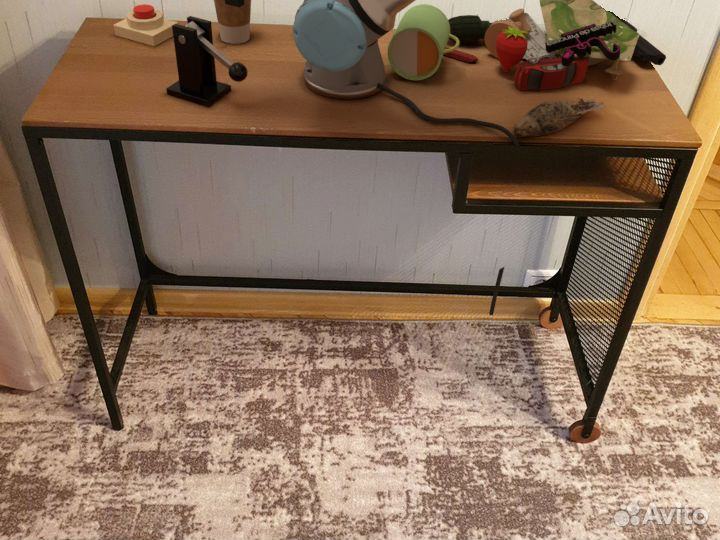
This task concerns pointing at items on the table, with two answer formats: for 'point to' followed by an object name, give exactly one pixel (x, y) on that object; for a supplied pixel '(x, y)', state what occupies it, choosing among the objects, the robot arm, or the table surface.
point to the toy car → (549, 73)
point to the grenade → (468, 28)
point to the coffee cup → (233, 21)
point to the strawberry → (511, 47)
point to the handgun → (645, 48)
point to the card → (576, 10)
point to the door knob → (503, 24)
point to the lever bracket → (195, 66)
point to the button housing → (145, 28)
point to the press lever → (220, 56)
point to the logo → (583, 48)
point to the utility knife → (461, 55)
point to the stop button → (144, 11)
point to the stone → (536, 42)
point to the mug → (420, 42)
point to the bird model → (552, 117)
